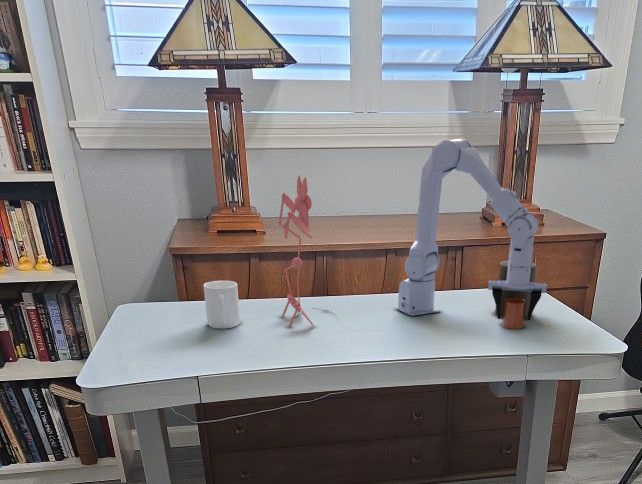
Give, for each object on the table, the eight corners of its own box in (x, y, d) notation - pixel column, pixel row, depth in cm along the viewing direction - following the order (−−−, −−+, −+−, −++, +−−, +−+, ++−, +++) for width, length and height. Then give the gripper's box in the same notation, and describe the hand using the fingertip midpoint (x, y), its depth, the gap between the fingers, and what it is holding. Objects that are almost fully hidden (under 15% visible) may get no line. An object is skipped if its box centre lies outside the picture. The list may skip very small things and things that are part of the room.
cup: (240, 318, 184) (236, 279, 180) (241, 332, 174) (237, 291, 169) (207, 320, 183) (203, 280, 178) (207, 334, 173) (202, 292, 168)
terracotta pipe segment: (527, 327, 182) (530, 302, 179) (511, 329, 180) (513, 304, 177) (514, 321, 186) (517, 297, 183) (498, 324, 184) (500, 299, 181)
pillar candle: (502, 320, 187) (508, 263, 180) (490, 310, 195) (495, 255, 188) (536, 318, 189) (543, 262, 182) (522, 309, 197) (529, 254, 190)
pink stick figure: (292, 337, 172) (285, 183, 155) (272, 309, 193) (264, 171, 176) (352, 332, 176) (352, 182, 159) (326, 305, 197) (323, 170, 180)
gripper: (548, 263, 178) (541, 316, 185) (490, 260, 180) (486, 312, 187) (549, 269, 172) (542, 323, 179) (490, 266, 174) (485, 320, 180)
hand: (513, 318), depth 182 cm, fingers open, 7 cm apart
